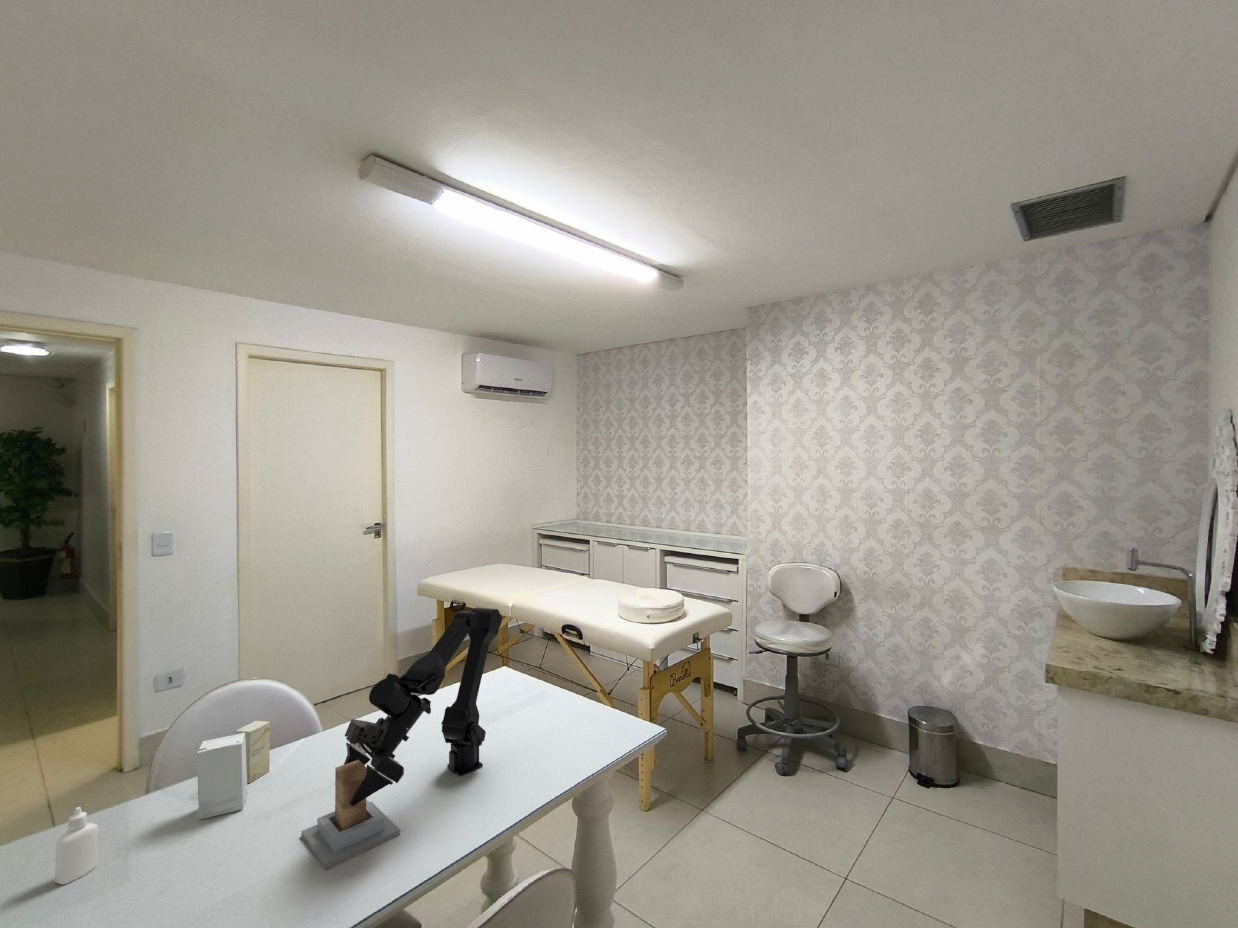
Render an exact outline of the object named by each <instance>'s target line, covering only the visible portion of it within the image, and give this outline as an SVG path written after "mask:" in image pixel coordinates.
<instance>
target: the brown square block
mask: <svg viewBox="0 0 1238 928" xmlns="http://www.w3.org/2000/svg"><path fill="white" fill-rule="evenodd" d="M366 772H367V766H365V765H363V764H362V763H361V762H360V761H359V760H356V761H353V762H351V763H348V764H345V765H344V764H342V765H339V766H337V767H335V775H334V776H335V779H334V780H335V781H334V786H335V787H334V789H335V790H334V791H335V793H334V795H335V799H334V801H335V802H334V811H335V827H336V828H337V829H338V831H339V832H341V831H344V830H346V829H348V828H350V827H353V826H355V825H357V824H360V823H362V822H364V821H366V800H367V798H365V799H364V800H362V801H361V802H359V803H358V804H356V805H355V806H352V805H350V801H351V799H352V797H353V795H354V794H355V792H356V791H357V789H358V788H359V786H360V784H361V783H362V781H363V780H364V778H365V777H366Z"/></svg>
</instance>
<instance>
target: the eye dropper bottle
mask: <svg viewBox="0 0 1238 928" xmlns="http://www.w3.org/2000/svg"><path fill="white" fill-rule="evenodd" d="M67 827H68V829H67V831H66V832H65V833H63V834H62V835H61V836H60V837H59V838H58V839H57V840H56V843H55V853H54V854H55V858H54V863H55V864H54V883H55V884H59V885H66V884H69V883H72V882H74V881H76V880H78V879H79V878H82V877H83V876H85V875H87V874H88V873H91V871H93V870H94V869H95V868H96V867H97V866H98V863H99V862H98V861H99V825H97V824H96V823H93V822H88V813H87V812H86V811H82V807H81V806H77V807H76V808H75V810H74V813H73V814H72V815H70V816H69V818H68V826H67Z"/></svg>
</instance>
